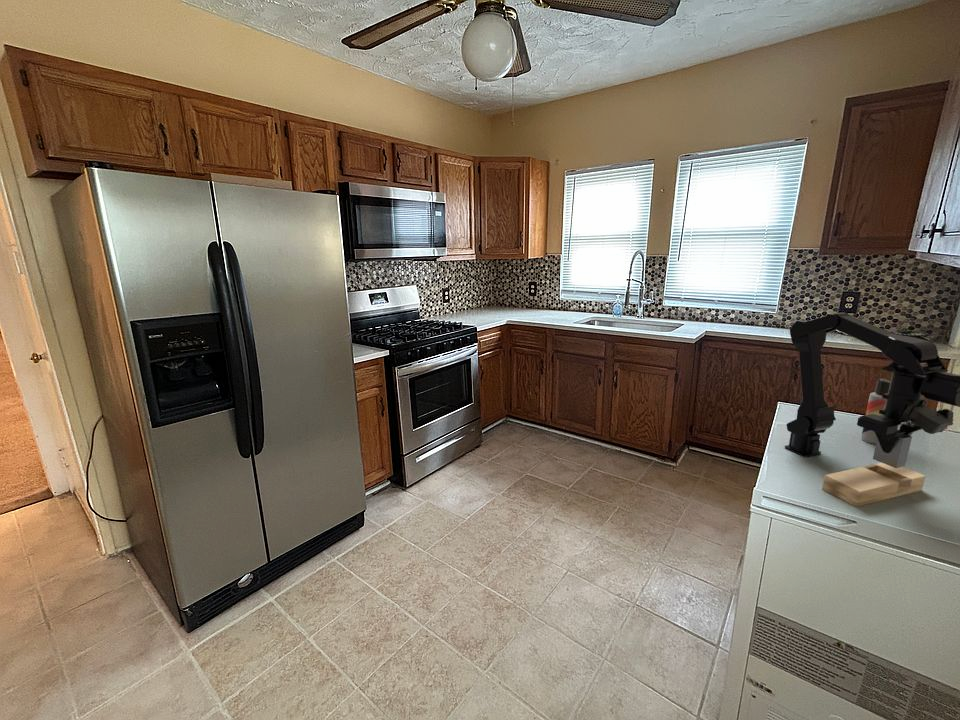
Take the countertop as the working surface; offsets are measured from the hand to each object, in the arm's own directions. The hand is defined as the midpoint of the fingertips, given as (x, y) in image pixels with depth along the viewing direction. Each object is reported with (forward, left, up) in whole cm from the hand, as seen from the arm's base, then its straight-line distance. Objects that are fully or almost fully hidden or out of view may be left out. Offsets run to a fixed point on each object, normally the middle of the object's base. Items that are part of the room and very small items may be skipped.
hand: (890, 451), depth 105 cm
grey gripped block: (0, 0, -3) cm, 3 cm away
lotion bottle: (-19, +26, -10) cm, 34 cm away
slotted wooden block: (0, -4, -10) cm, 11 cm away
